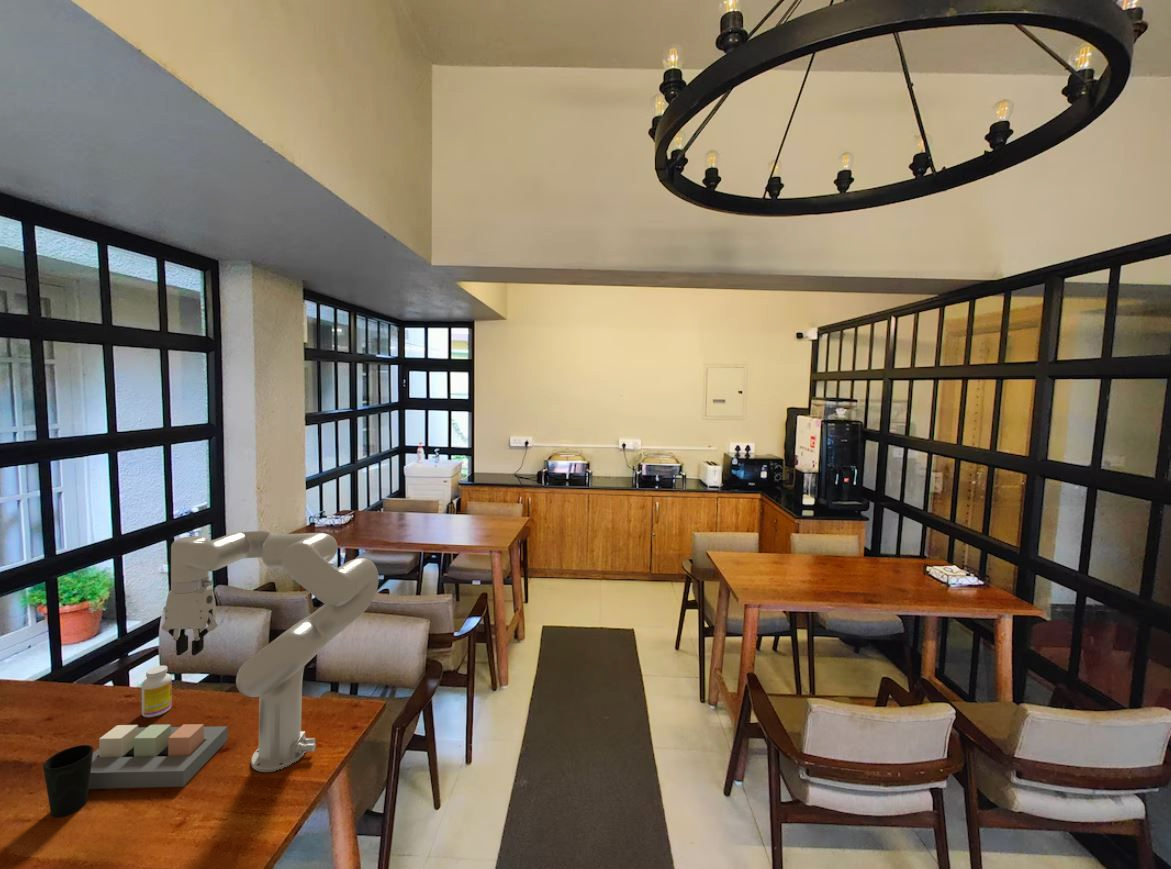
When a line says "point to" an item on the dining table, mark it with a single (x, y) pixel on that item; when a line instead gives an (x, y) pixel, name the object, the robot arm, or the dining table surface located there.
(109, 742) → the cream button
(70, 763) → the cup
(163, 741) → the green button
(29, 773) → the dining table surface
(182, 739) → the terracotta button
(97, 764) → the console
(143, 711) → the supplement bottle
